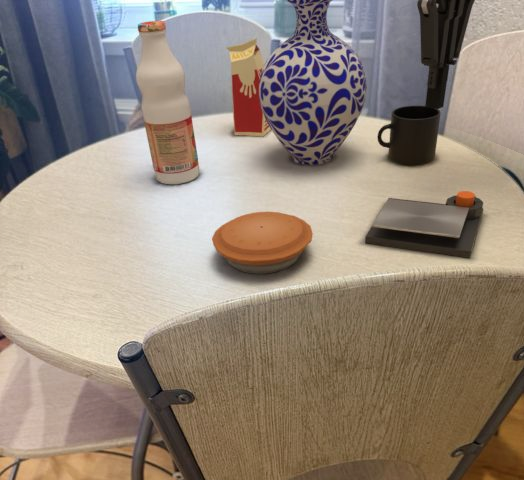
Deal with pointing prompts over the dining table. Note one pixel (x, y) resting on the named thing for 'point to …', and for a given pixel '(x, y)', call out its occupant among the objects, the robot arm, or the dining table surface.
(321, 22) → the vase
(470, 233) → the scale
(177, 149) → the fruit juice
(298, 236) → the pie
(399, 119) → the mug
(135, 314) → the dining table surface
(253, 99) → the milk carton
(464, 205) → the tare button
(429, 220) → the scale pan
